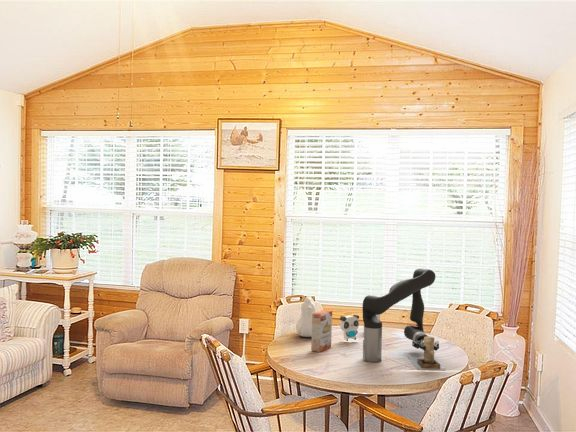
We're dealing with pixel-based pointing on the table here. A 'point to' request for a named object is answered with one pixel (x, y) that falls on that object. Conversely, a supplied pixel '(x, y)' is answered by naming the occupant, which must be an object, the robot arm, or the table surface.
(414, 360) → the board
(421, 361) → the socket collar
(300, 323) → the decorative rooster
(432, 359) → the maple pillar
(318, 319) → the cracker box
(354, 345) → the table surface
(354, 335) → the panda figurine
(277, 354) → the table surface
